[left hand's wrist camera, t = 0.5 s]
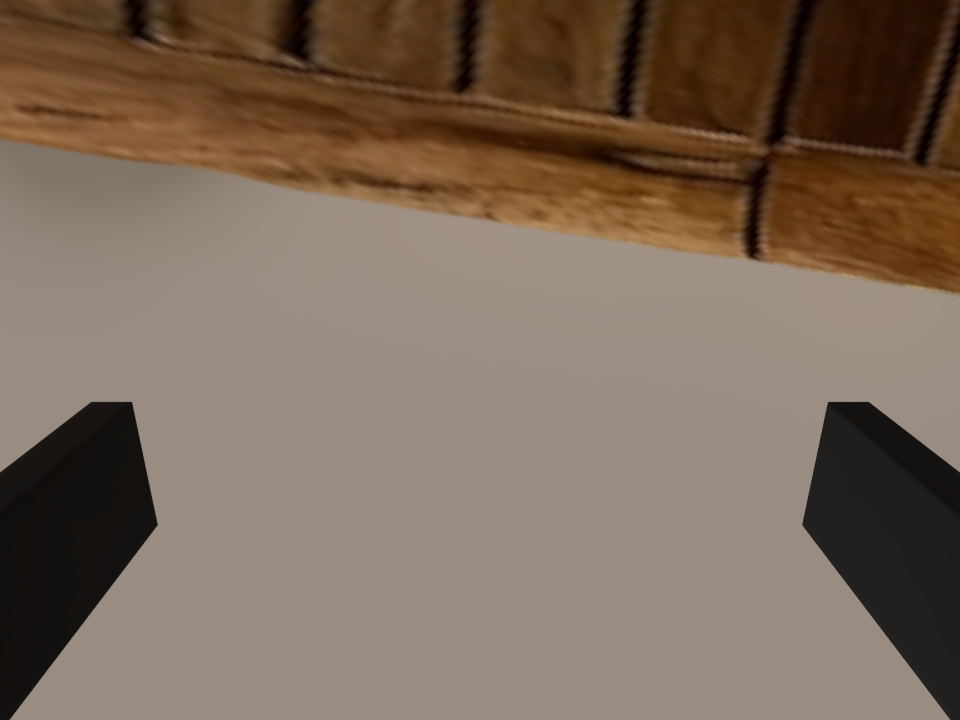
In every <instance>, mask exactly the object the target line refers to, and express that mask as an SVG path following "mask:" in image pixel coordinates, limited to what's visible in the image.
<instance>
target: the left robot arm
mask: <svg viewBox="0 0 960 720" xmlns="http://www.w3.org/2000/svg"><path fill="white" fill-rule="evenodd" d="M157 525H158V524H157V519H156V515H155V510H154V505H153V500H152V495H151V491H150V486H149V481H148V476H147V472H146V467H145V462H144V457H143V452H142V448H141V443H140V438H139V433H138V428H137V424H136V419H135V414H134V409H133V405H132V402H91V403H89V404H88V405H87V406H86V407H84V408H83V409H82V410H80V411H79V412H78V413H77V414H75V415H74V416H73V417H71V418H70V419H69V420H67V421H66V422H65V423H64V424H62V425H61V426H60V427H58V428H57V429H56V430H54V431H53V432H52V433H51V434H49V435H48V436H47V437H46V438H44V439H43V440H42V441H40V442H39V443H38V444H36V445H35V446H34V447H33V448H31V449H30V450H29V451H27V452H26V453H25V454H24V455H22V456H21V457H20V458H18V459H17V460H16V461H14V462H13V463H12V464H11V465H9V466H8V467H7V468H5V469H4V470H3V471H1V472H0V720H10V719H11V717H12V716H13V715H14V713H15V712H16V711H17V709H18V708H19V707H20V705H21V704H22V703H23V701H24V700H25V699H26V697H27V696H28V695H29V694H30V692H31V691H32V690H33V688H34V687H35V686H36V684H37V683H38V682H39V680H40V679H41V678H42V676H43V675H44V674H45V672H46V671H47V670H48V668H49V667H50V666H51V665H52V663H53V662H54V661H55V659H56V658H57V657H58V655H59V654H60V653H61V652H62V650H63V649H64V648H65V646H66V645H67V644H68V642H69V641H70V640H71V638H72V637H73V636H74V634H75V633H76V632H77V631H78V629H79V628H80V627H81V625H82V624H83V623H84V621H85V620H86V619H87V617H88V616H89V615H90V613H91V612H92V611H93V609H94V608H95V607H96V605H97V604H98V603H99V602H100V600H101V599H102V598H103V596H104V595H105V594H106V592H107V591H108V590H109V588H110V587H111V586H112V584H113V583H114V582H115V581H116V579H117V578H118V577H119V575H120V574H121V573H122V571H123V570H124V569H125V567H126V566H127V565H128V563H129V562H130V561H131V560H132V558H133V557H134V556H135V554H136V553H137V552H138V550H139V549H140V548H141V546H142V545H143V544H144V542H145V541H146V540H147V539H148V537H149V536H150V535H151V533H152V532H153V531H154V529H155V528H156V527H157ZM802 525H803V527H804V528H805V529H806V531H807V532H808V533H809V534H810V536H811V537H812V539H813V540H814V541H815V542H816V544H817V545H818V546H819V548H820V549H821V550H822V552H823V553H824V554H825V556H826V557H827V558H828V560H829V561H830V562H831V563H832V565H833V566H834V567H835V569H836V570H837V571H838V573H839V574H840V575H841V577H842V578H843V579H844V581H845V582H846V583H847V585H848V586H849V587H850V588H851V590H852V591H853V592H854V594H855V595H856V596H857V598H858V599H859V600H860V602H861V603H862V604H863V605H864V607H865V608H866V609H867V611H868V612H869V613H870V615H871V616H872V617H873V619H874V620H875V621H876V623H877V624H878V625H879V626H880V628H881V629H882V630H883V632H884V633H885V634H886V636H887V637H888V638H889V640H890V641H891V642H892V644H893V645H894V646H895V648H896V649H897V650H898V652H899V653H900V654H901V655H902V657H903V658H904V659H905V661H906V662H907V663H908V665H909V666H910V667H911V669H912V670H913V671H914V673H915V674H916V675H917V676H918V678H919V679H920V680H921V682H922V683H923V684H924V686H925V687H926V688H927V690H928V691H929V692H930V694H931V695H932V696H933V697H934V699H935V700H936V701H937V703H938V704H939V705H940V707H941V708H942V709H943V711H944V712H945V713H946V715H947V716H948V717H949V718H950V720H960V472H959V471H957V470H956V469H955V468H953V467H952V466H951V465H949V464H948V463H947V462H946V461H944V460H943V459H942V458H940V457H939V456H938V455H937V454H935V453H934V452H933V451H931V450H930V449H929V448H927V447H926V446H925V445H924V444H922V443H921V442H920V441H918V440H917V439H916V438H915V437H913V436H912V435H911V434H909V433H908V432H907V431H905V430H904V429H903V428H902V427H900V426H899V425H898V424H896V423H895V422H894V421H893V420H891V419H890V418H889V417H887V416H886V415H885V414H883V413H882V412H881V411H880V410H878V409H877V408H876V407H874V406H873V405H872V404H871V403H869V402H828V405H827V409H826V414H825V419H824V424H823V429H822V433H821V438H820V443H819V448H818V452H817V457H816V462H815V467H814V471H813V476H812V481H811V486H810V491H809V495H808V500H807V505H806V510H805V515H804V519H803V524H802Z"/></svg>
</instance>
